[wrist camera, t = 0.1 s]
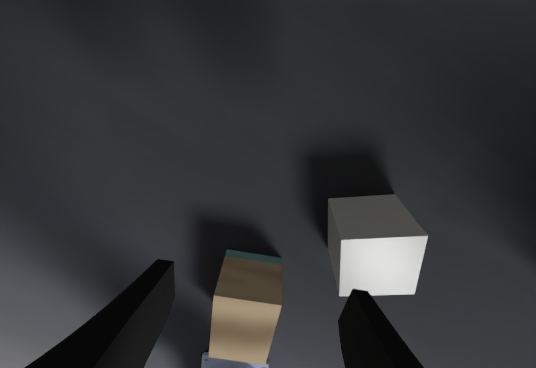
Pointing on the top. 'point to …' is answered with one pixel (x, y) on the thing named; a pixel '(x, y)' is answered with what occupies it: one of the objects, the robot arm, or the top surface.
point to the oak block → (246, 307)
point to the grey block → (374, 245)
